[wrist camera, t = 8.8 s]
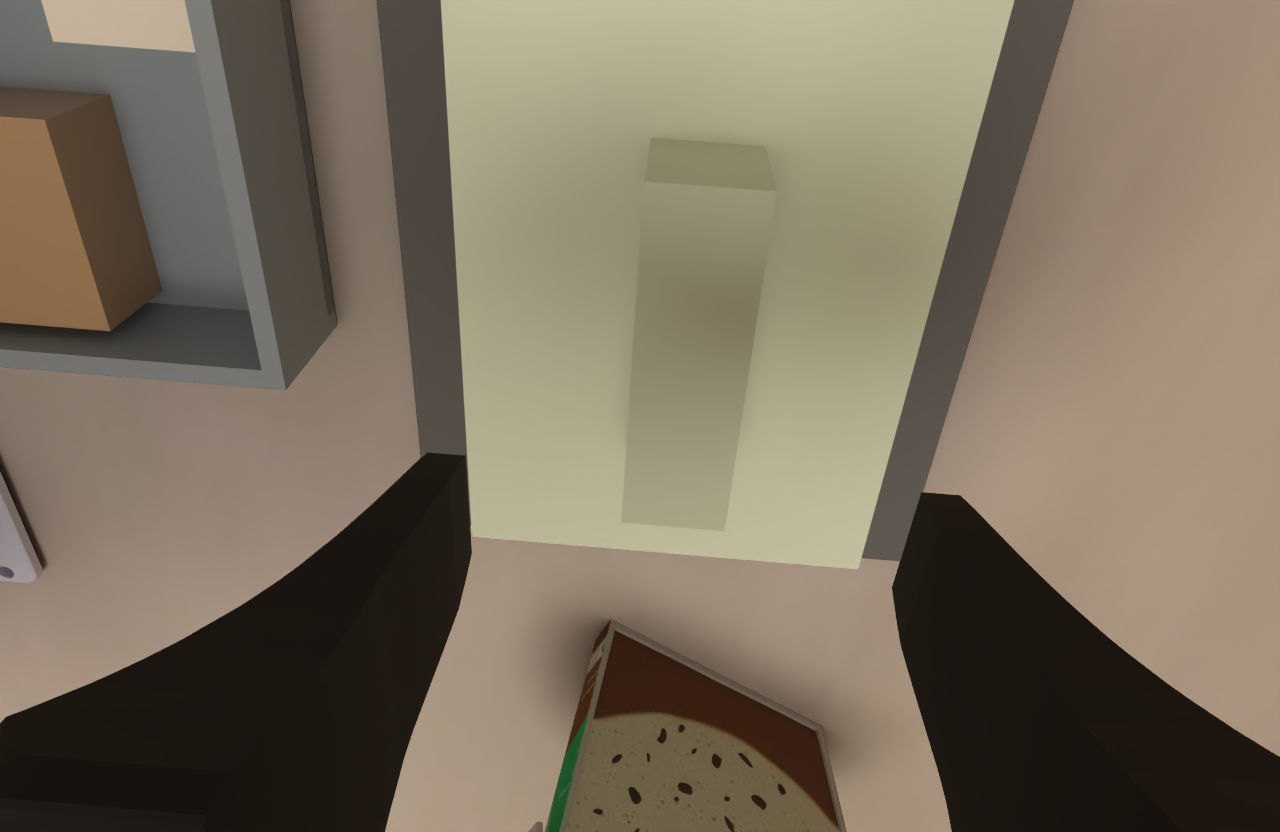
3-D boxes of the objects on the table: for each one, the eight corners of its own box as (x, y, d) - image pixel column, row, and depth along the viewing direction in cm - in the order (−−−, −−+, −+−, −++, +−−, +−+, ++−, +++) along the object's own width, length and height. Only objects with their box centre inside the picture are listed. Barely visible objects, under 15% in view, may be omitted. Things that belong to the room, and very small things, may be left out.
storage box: (23, 300, 24) (-73, 360, 21) (-194, -295, 17) (-386, -331, 14) (336, 325, 23) (286, 390, 20) (250, -263, 16) (154, -292, 14)
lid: (487, 489, 26) (446, 614, 22) (463, -76, 18) (388, -59, 13) (846, 519, 26) (878, 650, 21) (986, -35, 18) (1083, -6, 13)
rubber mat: (429, 515, 27) (427, 521, 27) (364, -168, 17) (360, -169, 17) (899, 554, 27) (901, 561, 27) (1102, -114, 17) (1108, -114, 17)
